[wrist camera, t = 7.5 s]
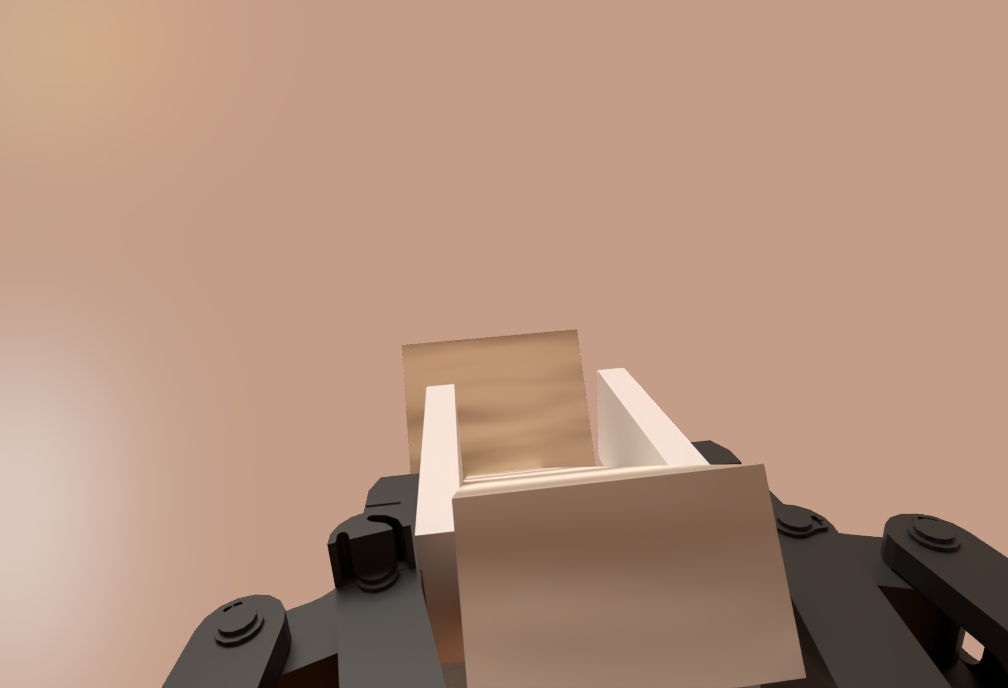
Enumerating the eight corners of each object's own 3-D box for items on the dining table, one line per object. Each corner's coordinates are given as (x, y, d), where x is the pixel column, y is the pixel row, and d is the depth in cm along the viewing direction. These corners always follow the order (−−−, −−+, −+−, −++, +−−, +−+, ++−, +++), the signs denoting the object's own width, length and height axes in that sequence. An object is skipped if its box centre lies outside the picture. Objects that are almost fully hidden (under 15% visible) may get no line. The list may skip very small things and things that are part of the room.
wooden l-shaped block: (1038, 645, 7) (849, -33, 9) (196, 764, 6) (203, -7, 8) (574, 500, 38) (556, 356, 40) (426, 517, 37) (415, 369, 39)
